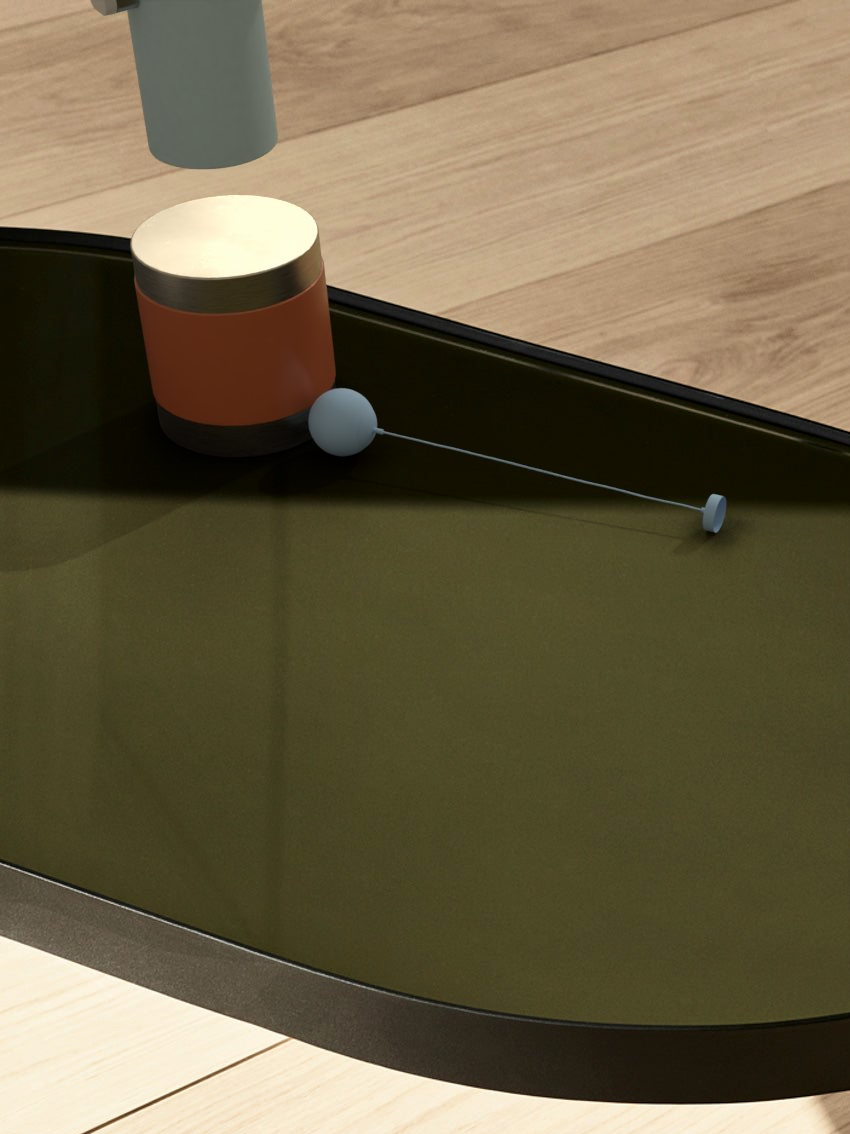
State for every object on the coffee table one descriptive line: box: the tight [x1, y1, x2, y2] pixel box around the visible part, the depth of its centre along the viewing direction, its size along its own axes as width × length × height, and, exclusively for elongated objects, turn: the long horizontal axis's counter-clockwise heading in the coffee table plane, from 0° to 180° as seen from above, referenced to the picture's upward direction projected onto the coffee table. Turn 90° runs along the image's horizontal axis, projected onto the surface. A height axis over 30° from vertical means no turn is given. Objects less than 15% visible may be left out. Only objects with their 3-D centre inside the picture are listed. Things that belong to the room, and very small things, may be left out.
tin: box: [129, 194, 337, 458], centre depth 106 cm, size 9×9×9 cm
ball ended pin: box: [308, 387, 727, 534], centre depth 103 cm, size 3×20×3 cm, turn 69°
